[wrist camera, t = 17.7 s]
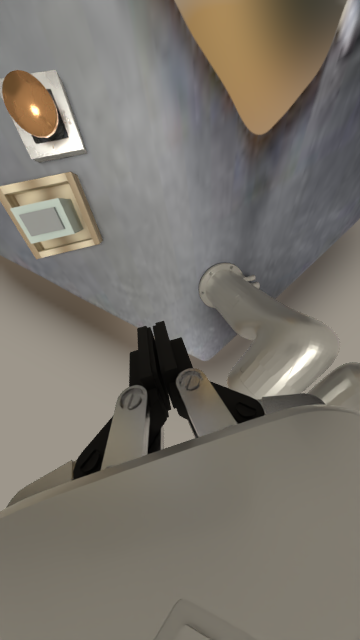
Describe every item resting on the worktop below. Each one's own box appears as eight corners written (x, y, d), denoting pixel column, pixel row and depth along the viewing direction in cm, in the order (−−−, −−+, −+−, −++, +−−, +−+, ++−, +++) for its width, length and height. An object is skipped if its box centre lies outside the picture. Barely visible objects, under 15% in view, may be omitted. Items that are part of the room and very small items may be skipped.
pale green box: (31, 207, 33) (6, 208, 27) (70, 199, 34) (56, 197, 27) (47, 237, 36) (28, 244, 29) (83, 229, 36) (73, 234, 30)
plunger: (57, 93, 27) (39, 66, 22) (76, 144, 31) (64, 131, 25) (18, 100, 27) (-10, 74, 22) (41, 151, 30) (21, 139, 25)
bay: (77, 175, 33) (70, 171, 30) (102, 240, 39) (100, 243, 36) (6, 189, 32) (-8, 188, 29) (44, 254, 38) (36, 259, 35)
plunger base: (62, 82, 27) (55, 69, 25) (87, 153, 32) (83, 148, 29) (6, 91, 27) (-7, 79, 24) (39, 162, 31) (31, 159, 29)
